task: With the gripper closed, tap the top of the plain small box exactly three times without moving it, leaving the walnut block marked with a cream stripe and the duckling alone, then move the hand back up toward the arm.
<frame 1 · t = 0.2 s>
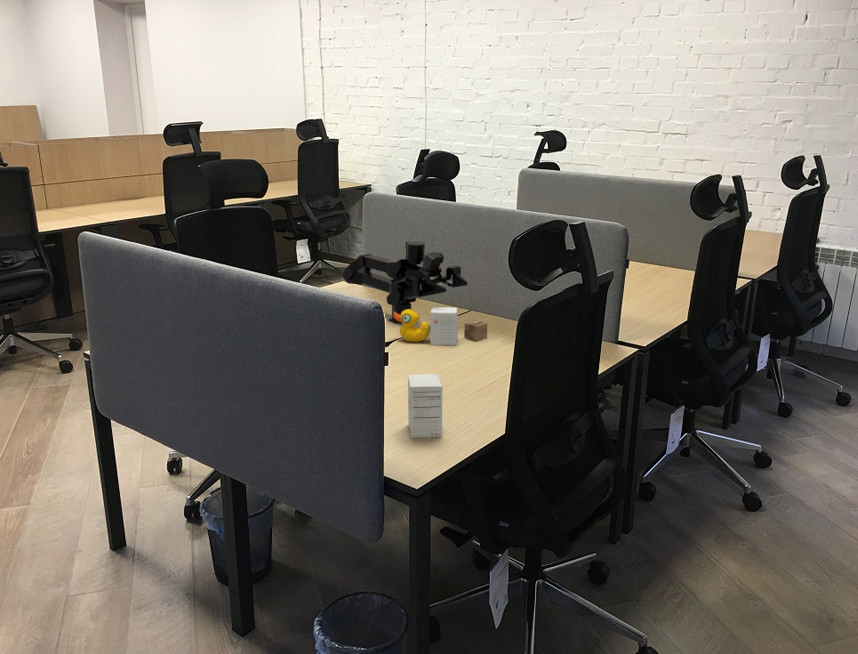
hand: (456, 286, 227), 17 cm above the table, tool horizontal, fingers open, 9 cm apart
duckling: (412, 341, 231), on the table
supplement box: (424, 431, 172), on the table
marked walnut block: (475, 338, 233), on the table
small box: (443, 343, 229), on the table
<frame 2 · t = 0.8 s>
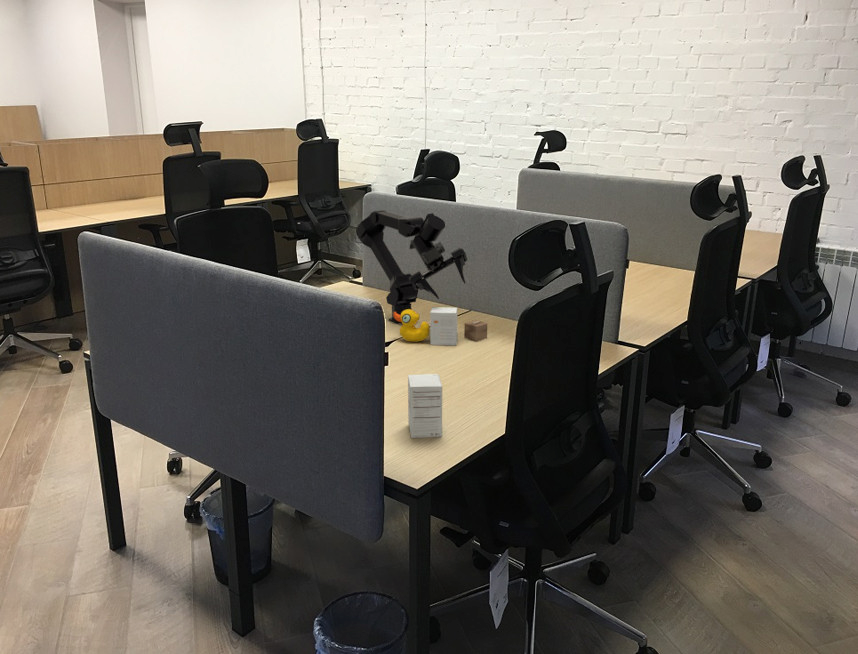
hand: (451, 290, 226), 16 cm above the table, tool tilted 50°, fingers open, 9 cm apart
nothing on the table moved.
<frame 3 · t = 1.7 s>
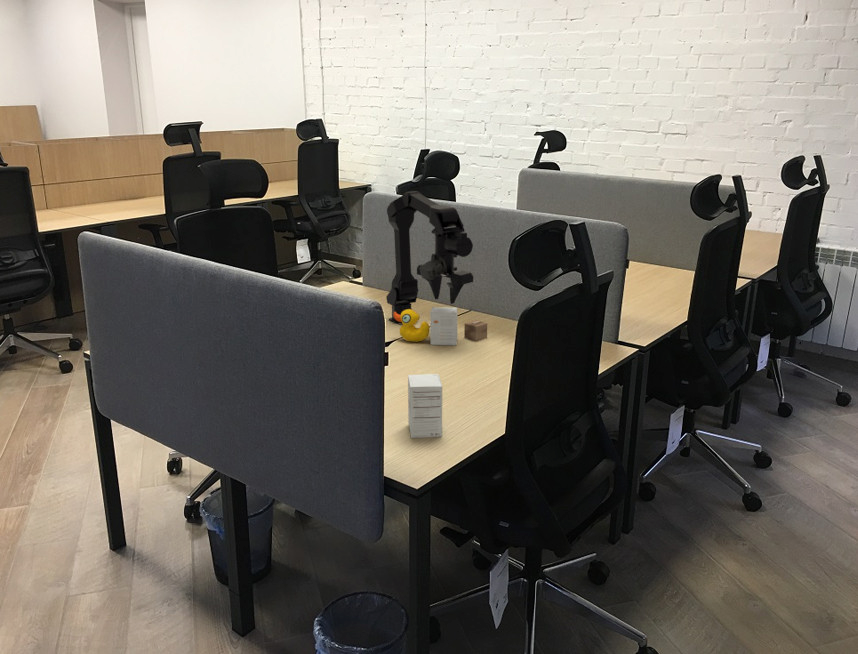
hand: (444, 301, 225), 13 cm above the table, tool pointing down, fingers open, 6 cm apart
nothing on the table moved.
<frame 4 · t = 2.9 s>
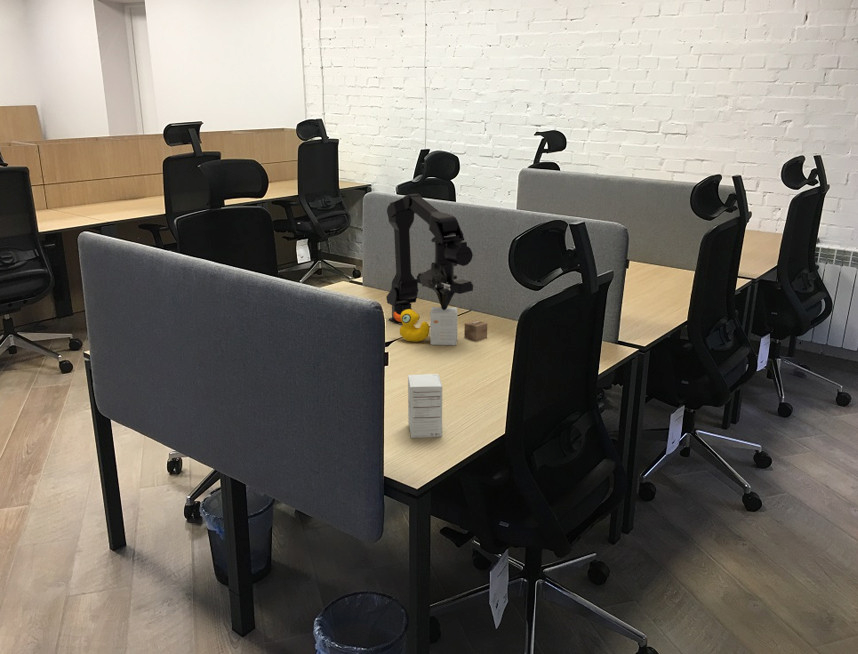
hand: (444, 309, 226), 10 cm above the table, tool pointing down, fingers closed, pressing on small box
small box: (443, 342, 229), on the table, touching gripper
everything else where it was.
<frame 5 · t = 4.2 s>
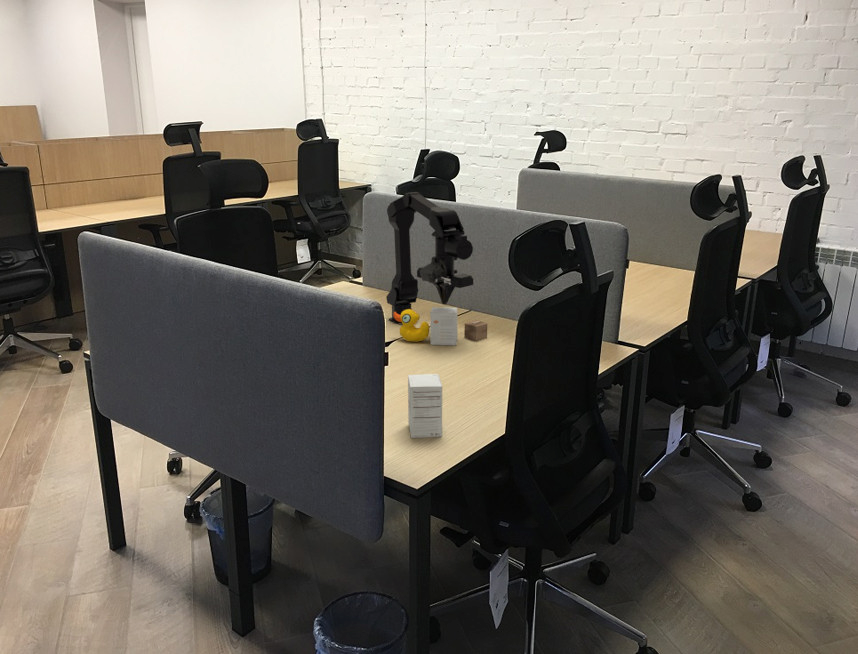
hand: (444, 304, 225), 12 cm above the table, tool pointing down, fingers closed
small box: (443, 343, 229), on the table
everything else where it was.
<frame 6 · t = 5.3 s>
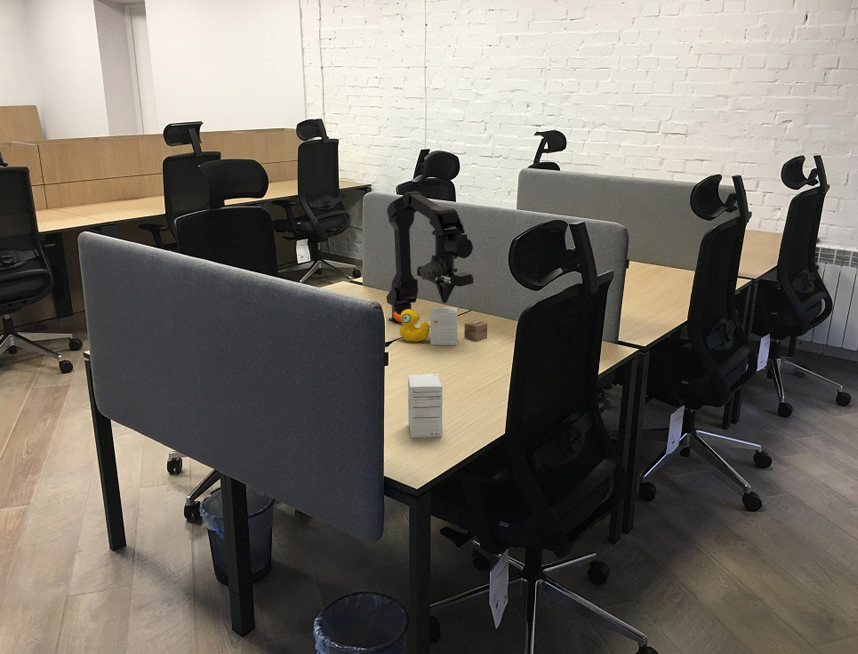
hand: (444, 302, 225), 13 cm above the table, tool pointing down, fingers closed
nothing on the table moved.
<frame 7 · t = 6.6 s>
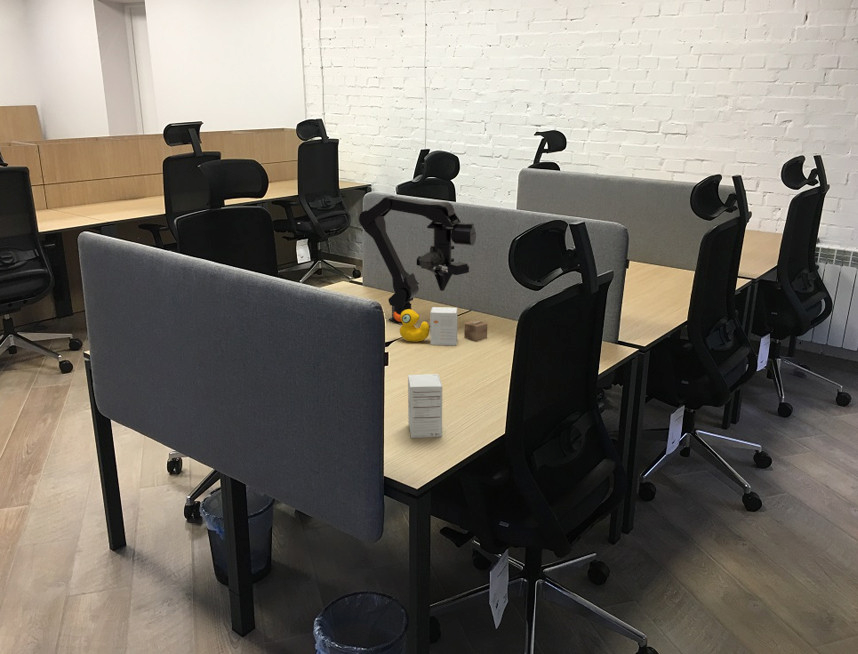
hand: (442, 290, 241), 12 cm above the table, tool pointing down, fingers closed
nothing on the table moved.
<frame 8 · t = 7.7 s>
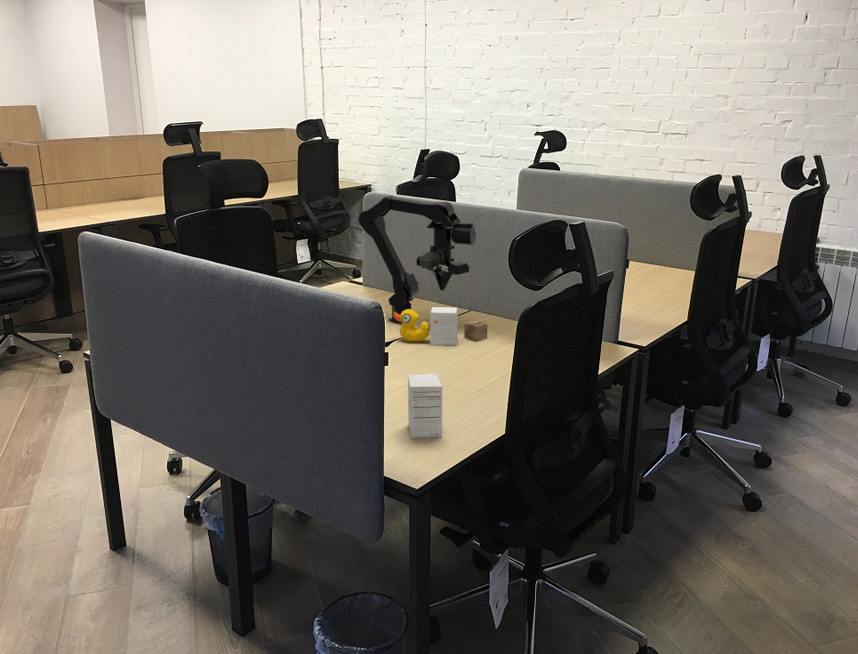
hand: (442, 290, 241), 12 cm above the table, tool pointing down, fingers closed
nothing on the table moved.
at the end: small box moved 0.3 cm from its start; small box tilted 0°; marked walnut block moved 0.1 cm from its start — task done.
